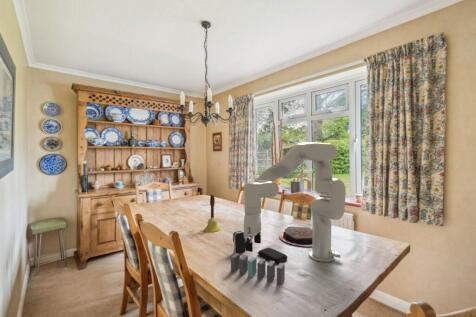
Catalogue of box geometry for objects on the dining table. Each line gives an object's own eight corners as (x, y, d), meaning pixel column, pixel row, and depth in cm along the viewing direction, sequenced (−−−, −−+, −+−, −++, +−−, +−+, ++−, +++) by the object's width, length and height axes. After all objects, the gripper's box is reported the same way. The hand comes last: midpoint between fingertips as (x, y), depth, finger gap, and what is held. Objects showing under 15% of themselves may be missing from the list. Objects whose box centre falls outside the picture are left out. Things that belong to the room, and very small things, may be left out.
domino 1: (239, 268, 111) (239, 253, 111) (234, 272, 107) (234, 257, 107) (235, 267, 112) (235, 252, 112) (230, 271, 108) (230, 257, 108)
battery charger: (242, 249, 133) (242, 229, 133) (246, 251, 130) (246, 231, 130) (231, 251, 130) (231, 231, 129) (235, 254, 126) (235, 233, 126)
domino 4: (265, 274, 105) (265, 259, 105) (261, 280, 101) (261, 264, 101) (261, 273, 106) (261, 258, 106) (257, 278, 102) (257, 263, 102)
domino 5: (274, 277, 103) (274, 261, 103) (271, 282, 99) (271, 266, 99) (270, 275, 104) (270, 260, 104) (266, 281, 100) (266, 265, 100)
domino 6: (284, 279, 101) (284, 263, 101) (281, 285, 97) (281, 268, 97) (280, 278, 102) (280, 262, 102) (276, 284, 98) (276, 267, 98)
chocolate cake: (328, 250, 133) (328, 238, 133) (278, 246, 139) (278, 235, 139) (320, 233, 161) (320, 224, 161) (279, 230, 166) (279, 221, 166)
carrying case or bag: (290, 259, 121) (269, 250, 132) (290, 254, 121) (269, 245, 132) (276, 266, 114) (256, 255, 126) (276, 260, 114) (256, 250, 126)
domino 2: (247, 270, 109) (247, 255, 109) (243, 275, 105) (243, 259, 105) (244, 269, 110) (244, 254, 110) (239, 274, 106) (239, 258, 106)
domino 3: (248, 276, 104) (248, 261, 104) (252, 271, 108) (252, 256, 108) (252, 277, 103) (252, 262, 103) (256, 272, 107) (256, 257, 107)
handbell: (201, 231, 163) (200, 196, 162) (207, 226, 175) (207, 193, 174) (217, 233, 160) (217, 197, 160) (223, 227, 172) (223, 194, 172)
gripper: (252, 204, 114) (253, 239, 115) (236, 213, 99) (237, 253, 99) (267, 206, 111) (267, 241, 112) (252, 215, 96) (253, 256, 96)
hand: (253, 246), depth 106 cm, fingers open, 9 cm apart
